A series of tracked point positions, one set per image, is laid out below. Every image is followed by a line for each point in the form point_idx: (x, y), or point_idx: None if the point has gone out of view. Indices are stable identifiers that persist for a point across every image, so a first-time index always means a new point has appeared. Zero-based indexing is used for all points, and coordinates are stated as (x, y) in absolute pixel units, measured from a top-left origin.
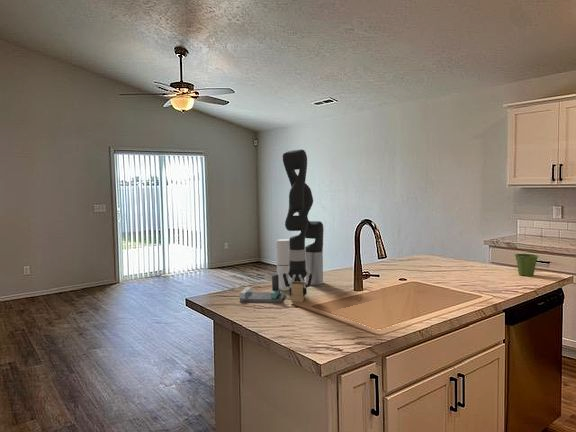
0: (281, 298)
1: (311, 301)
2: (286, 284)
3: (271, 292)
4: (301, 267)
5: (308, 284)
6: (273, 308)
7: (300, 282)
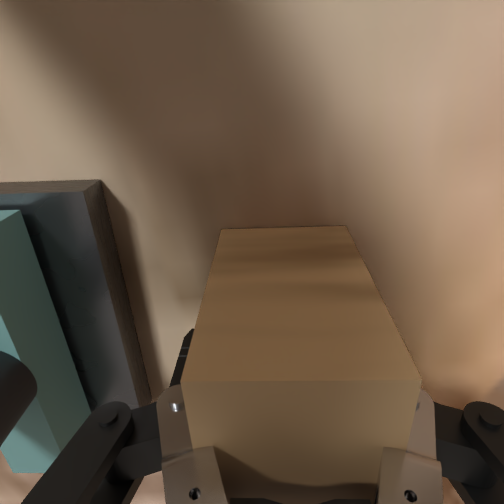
0: (136, 397)
1: (419, 342)
2: (119, 484)
3: (14, 460)
4: None
5: (477, 495)
6: (151, 494)
7: (343, 485)
